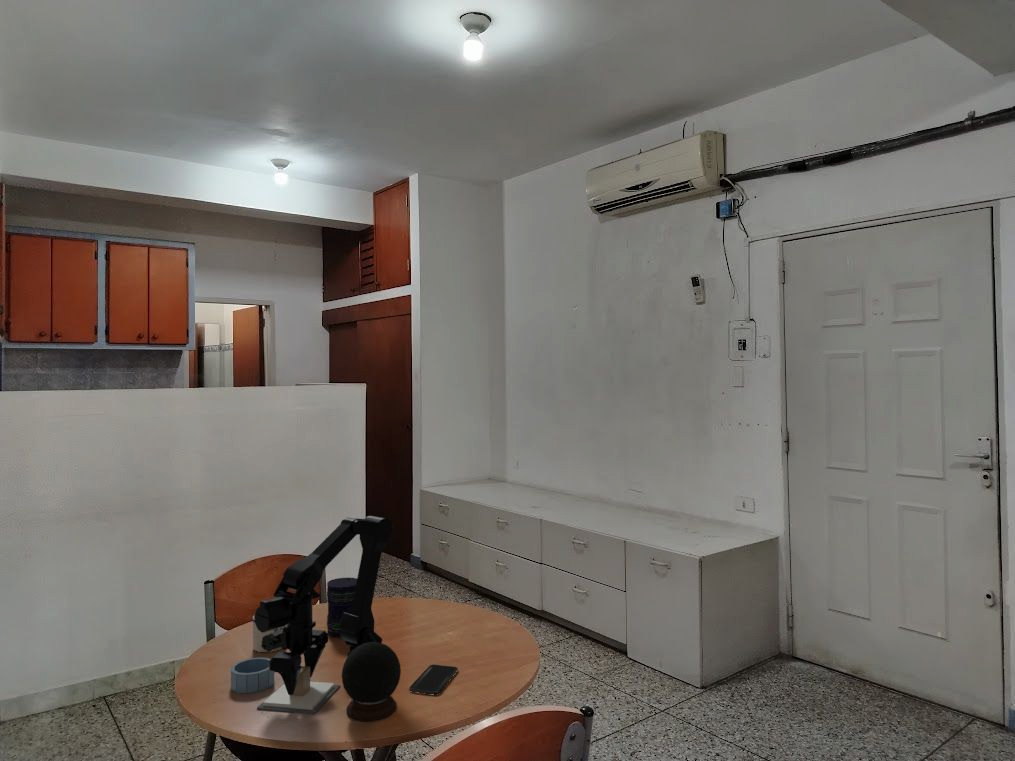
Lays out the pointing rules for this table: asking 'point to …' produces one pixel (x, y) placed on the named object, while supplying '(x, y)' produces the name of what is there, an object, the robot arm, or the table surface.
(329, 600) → the storage jar
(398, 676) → the black ball on stand
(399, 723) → the table surface
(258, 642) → the teacup with lid
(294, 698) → the lid
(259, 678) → the bowl
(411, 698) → the table surface
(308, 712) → the mat
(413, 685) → the phone
